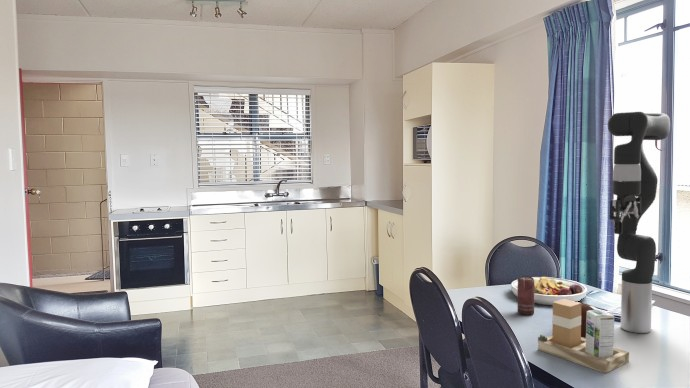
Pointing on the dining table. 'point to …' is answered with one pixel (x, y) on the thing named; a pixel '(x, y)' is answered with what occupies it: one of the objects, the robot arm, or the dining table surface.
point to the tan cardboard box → (566, 323)
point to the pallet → (583, 355)
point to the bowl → (553, 290)
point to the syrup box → (599, 333)
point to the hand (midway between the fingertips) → (625, 232)
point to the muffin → (584, 318)
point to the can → (526, 296)
